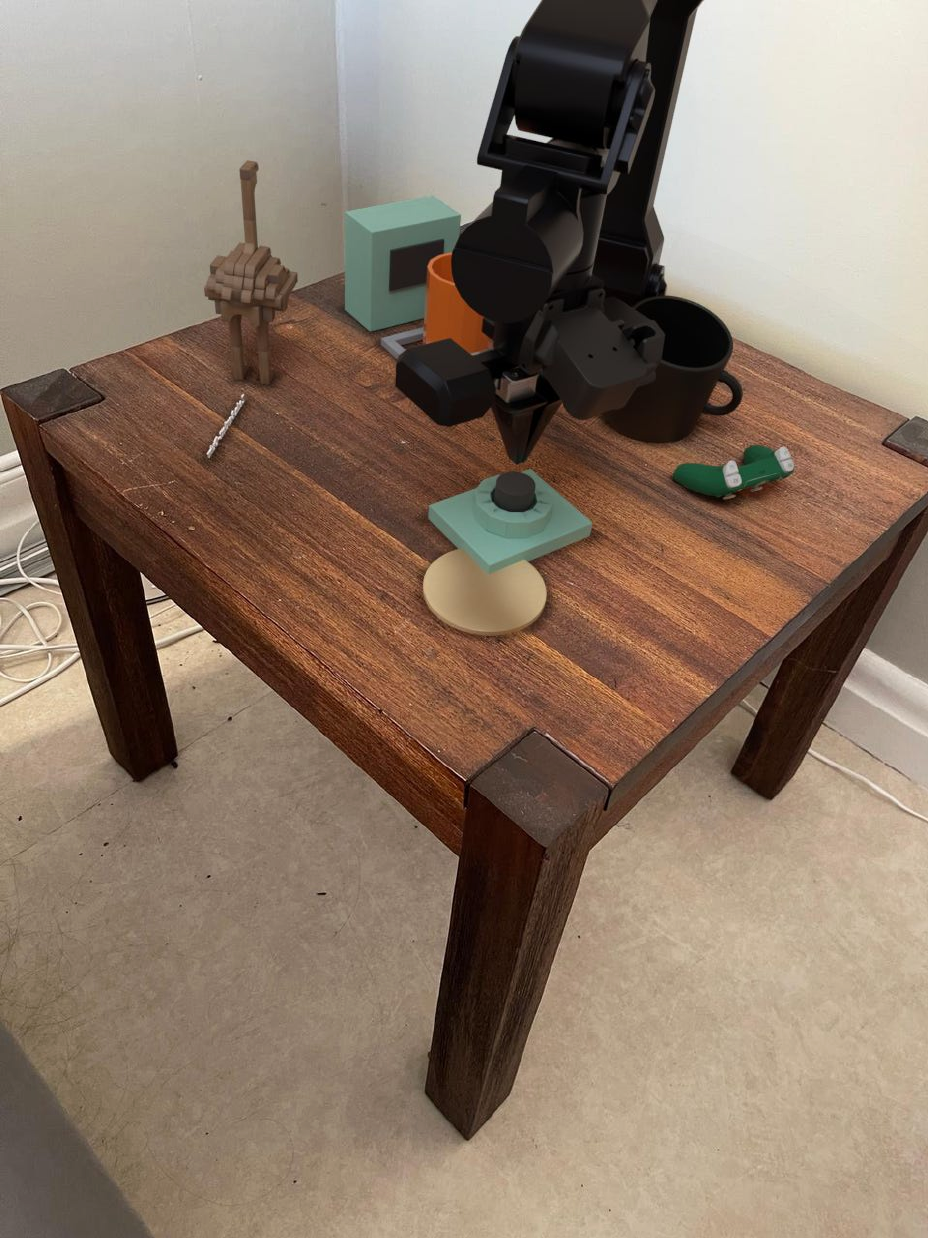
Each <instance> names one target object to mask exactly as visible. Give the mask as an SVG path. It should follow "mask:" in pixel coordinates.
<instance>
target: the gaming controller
mask: <svg viewBox="0 0 928 1238" xmlns="http://www.w3.org/2000/svg"><path fill="white" fill-rule="evenodd" d="M742 461H743V464H744V465H741V466H737V462H736V461H735V460H733V459H731V460H728V461H727V462H726V463H724V464H722V465H711V464H703V463H696V462H684V463H680V464H679V465H678V466H676V468H675V469H674V471H673V473H672V476H671V477H672V478H673V480H675V481H676V483H678V484H680V485H681V486H683V487H684V488H687V489H688V490H690V491H693V492H695V493H699V494H702V495H706V496H711V497H713V496H715V498H720V497H722V500H724V501H725V500H729V499H733V498H736V494H735V493H736V492H739V491H742V490H746V489H749V491H750V493H754V492H757V491H761V490H762V489H763V486H762V485H764V484H767V483H773V482H776V481H779V480H784V479H787V478H788V477H789V476H791V475H792V474H794V472H795V463H794V460H793V459H792V455H791V453H790V452H789V449H788V448H787V447H786V446H784V445H783V446H780V447H779V449H775V450H774V449H772V448H770V447H768V446H764V445H761V444H753V445H749V446H748V447H746V448H745V449H744V451H743V453H742ZM750 488H751V489H750Z"/></svg>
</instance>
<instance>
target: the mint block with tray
mask: <svg viewBox="0 0 928 1238" xmlns="http://www.w3.org/2000/svg"><path fill="white" fill-rule="evenodd" d="M461 222H462V214H461V213H460V212H458V211H456V210H455V209H453V208H452V207H451V206H449V205H448V204H446V203H445V202H443V201H442V200H441V199H439V198H438V197H436V196H435V195H427V196H421V197H416V198H411V199H405V200H400V201H394V202H390V203H384V204H379V205H373V206H367V207H362V208H358V209H352V210H346V211H344V311H346V312H347V313H348V314H349V315H350V316H351V317H352V318H353V319H354V320H355V321H357V322H358V323H359V324H360V325H361V326H362V327H364V329H366V330H367V331H368V332H369V333H371V332H376V331H379V330H383V329H387V328H391V327H395V326H398V325H403V324H407V323H411V322H415V321H418V320H422V319H423V320H424V313H425V297H426V281H427V266H428V264H429V262H430V260H431V259H433V258H435V257H436V256H438V255H442V254H446V253H451V252H452V251H453V249H454V247H455V245H456V243H457V240H458V238H459V236H460V235H461V233H460V232H461ZM423 329H424V326H422V327H419V328H418V327H417V328H415V329H411V330H406V331H403V332H399V333H394V334H391V335H387V336H384V337H381V338H380V346H381V347H382V348H383V349H384V350H386V352H388V353H389V354H390V355H391V356H392V357H393V358H394V359H395V360H398V357H399V355H400V354H401V353H403V352H404V351H405V350H406V349H405V348H404V347H403V346H404V345H405V346H406V345H409V344H413V343H417V342H420V341H423Z"/></svg>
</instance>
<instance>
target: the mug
mask: <svg viewBox="0 0 928 1238" xmlns="http://www.w3.org/2000/svg"><path fill="white" fill-rule="evenodd" d="M631 308H633V309H634V310H636V311H637V312H639V313H640V314H642V315H643V316H645V317H646V318H648V319H650V320H654V321H655V322H656V323H657V324H658V326H659V327H660V328H661V330H662V331H663V332H664V334H665V339H664V345H663V352H662V358H661V362H660V364H659V365H658V367H657V368H656V370H655V373H656V379H655V381H654V382H652V383H649V384H645V385H642V386H639V387H637V388H636V389H635V391H634V392H633V394H632V395H631V397H630V398H629V400H628V402H627V403H626V405H625V406H624V407H623V408H621V409H618V410H615V409H613V410H610V411H607V412H604V413H601V415H602V416H603V418H604V419H605V421H606V422H607V423H608V424H609V425H610V426H611V428H613V429H614V430H615V431H617V432H618V433H619V434H621V435H623V436H624V437H627V438H629V439H632V440H635V441H638V442H642V443H648V444H670V443H673V444H674V443H677V442H679V441H682V440H683V439H685V438H687V437H688V436H689V435H690V434H691V433H692V432H693V431H694V429H695V427H696V426H697V424H698V422H699V420H700V418H701V416H702V414H704V415H711V416H715V417H719V416H720V417H721V416H722V417H723V416H726V415H729V414H732V413H733V412H735V410H737V408H738V407H739V406H740V405H741V402H742V400H743V396H744V392H743V387H742V385H741V383H740V381H739V380H738V379H737V378H736V377H735V376H733V374H731V373H729V371H728V370H725V369H726V368H727V365H728V363H729V362H730V359H731V357H732V355H733V351H734V340H733V336H732V333H731V331H730V330H729V328H728V326H727V325H726V324H725V322H724V321H723V320H722V319H721V318H720V317H719V316H718V315H717V314H715V312H713V311H712V310H710V309H709V308H707V307H705V306H703V305H702V304H700V303H698V302H696V301H694V300H691V299H687V298H685V297H680V296H675V295H668V294H666V295H659V296H654V297H652V296H651V297H647V298H644V299H643V300H640V301H638V302H637V303H635V304H634V305H633V306H632V307H631ZM718 383H721V384H724V385H726V386H727V387H728V388H729V390H730V391H731V399H730V401H729V402H728V403H727V404H725V405H719V406H718V405H713V404H712V402H709V400H710V398H711V397H712V394H713V393H714V391H715V389H716V386H717V384H718Z"/></svg>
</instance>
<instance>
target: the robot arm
mask: <svg viewBox="0 0 928 1238" xmlns="http://www.w3.org/2000/svg"><path fill="white" fill-rule="evenodd" d="M704 1H705V0H540V2H539V3H538V5H537V6H536V7H535V9H534V11H533V13H532V14H531V15H530V17H529V18H528V20H527V22H526V23H525V24H524V26H523V28H522V30H521V32H520V35H516V36H515V37H513V38H512V39H511V42H510V44H509V45H508V48H507V51H506V55H505V57H504V62H503V64H502V68H501V72H500V75H499V78H498V82H497V86H496V89H495V92H494V96H493V100H492V103H491V106H490V109H489V113H488V117H487V121H486V124H485V128H484V131H483V135H482V138H481V142H480V146H479V149H478V152H477V155H476V164H477V165H478V166H482V167H485V168H490V169H493V170H494V169H495V170H498V171H501V177H500V183H499V187H498V188H497V189H496V190H495V191H494V193H493V197H492V202H490V204H488V205H487V206H486V207H485V209H484V210H482V211H481V212H480V213H479V214H478V215H477V216H476V217H475V218H474V219H473V221H471V222H470V223H469V224H468V225H467V226H466V228H465V229H464V230H463V231H462V232H461V233H460V234H459V238H458V240H457V243H456V245H455V247H454V249H453V251H452V257H451V270H452V276H453V280H454V283H455V286H456V288H457V290H458V292H459V294H460V296H461V297H462V299H463V300H464V301H465V302H466V303H467V305H468V306H469V307H470V308H471V309H473V310H474V311H475V312H476V313H478V314H479V315H481V316H483V317H485V318H483V323H482V332H483V333H484V334H485V335H486V336H488V337H489V338H490V339H492V340H493V348H490V349H486V350H483V351H479V352H475V353H471V354H470V353H469V352H467V351H466V350H465V349H464V348H462V347H461V346H460V345H459V344H457V343H456V342H455V341H454V340H452V339H451V338H448V339H444V340H440V341H436V342H432V343H428V344H425V345H423V344H421V345H417V346H413V347H409V348H406V349H405V351H404V352H403V353H401V354H400V355H399V357H398V360H397V359H396V360H397V361H396V362H395V378H394V380H395V381H394V386H395V388H397V389H398V390H399V391H400V392H401V393H402V394H403V395H404V396H405V397H406V398H407V399H408V400H410V401H411V402H412V403H413V404H414V405H415V406H416V407H417V408H418V409H419V410H421V412H423V414H425V415H426V416H427V417H428V418H429V419H431V420H432V422H434V423H435V424H436V425H437V426H443V427H448V428H451V427H454V426H455V427H456V426H458V425H462V424H465V423H467V422H470V421H471V422H472V421H475V420H477V419H481V418H484V416H485V415H486V414H487V412H488V411H489V410H490V409H491V412H492V415H493V417H494V420H495V423H496V426H497V429H498V432H499V434H500V437H501V440H502V443H503V446H504V449H505V451H506V454H507V457H508V459H509V460H510V461H511V462H513V464H515V465H520V464H524V463H525V462H527V460H528V459H529V457H530V455H531V453H532V452H533V451H534V449H535V448H536V445H537V443H538V442H539V441H540V438H541V437H542V435H543V433H544V432H545V430H546V429H547V427H548V425H549V424H550V421H551V420H552V419H553V417H554V416H555V414H556V412H557V411H558V410H559V408H560V407H561V405H562V406H563V408H564V410H565V411H566V412H567V414H568V415H569V416H571V417H572V418H574V419H576V420H579V421H586V420H590V419H592V418H594V417H595V416H597V415H600V414H601V415H602V413H604V412H607V411H610V410H613V409H615V410H618V409H621V408H623V407H624V406H625V405H626V403H627V402H628V400H629V398H630V397H631V395H632V394H633V392H634V391H635V389H636V388H637V387H639V386H642V385H645V384H649V383H652V382H654V381H655V379H656V373H655V370H656V368H657V367H658V365H659V364H660V362H661V358H662V352H663V345H664V339H665V334H664V332H663V331H662V330H661V328H660V327H659V326H658V324H657V323H656V322H655V321H654V320H650V319H648V318H646V317H645V316H643V315H642V314H640V313H639V312H637V311H636V310H634V309H633V308H631V307H632V306H633V305H634V304H635V303H637V302H638V301H640V300H643V299H644V298H647V297H651V296H652V297H654V296H659V295H667V292H668V291H667V290H668V283H667V282H666V280H665V279H666V277H665V275H666V274H665V273H666V272H665V271H666V270H665V269H666V265H663V264H661V263H660V261H661V258H662V252H663V248H664V243H665V235H664V232H663V229H662V227H661V224H660V220H659V217H658V215H657V212H656V209H655V207H654V204H655V201H656V195H657V191H658V186H659V182H660V178H661V173H662V169H663V165H664V160H665V155H666V151H667V147H668V142H669V137H670V134H671V129H672V124H673V121H674V120H673V119H674V114H675V110H676V106H677V101H678V97H679V93H680V88H681V84H682V80H683V74H684V72H685V71H684V70H685V66H686V62H687V58H688V57H687V56H688V53H689V48H690V43H691V40H692V34H693V30H694V25H695V22H696V18H697V12H698V9H699V7H700V6H701V5H702V4H703V2H704ZM513 120H514V122H515V126H516V128H517V130H518V131H519V132H524V133H528V134H533V135H538V136H541V137H546V138H550V139H549V140H548V141H547V142H543V141H538V140H534V139H531V138H526V137H521V136H517V135H512V134H508V132H509V129H510V127H511V125H512V123H513Z"/></svg>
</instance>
